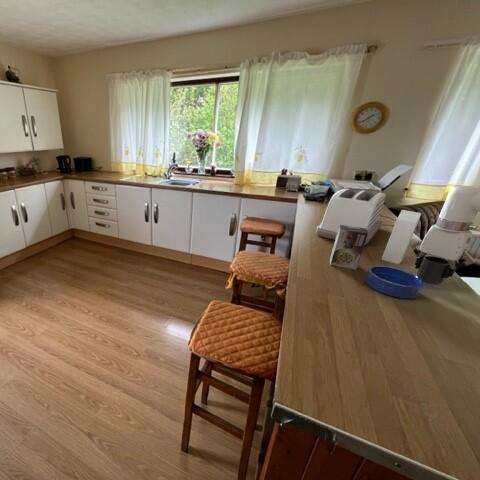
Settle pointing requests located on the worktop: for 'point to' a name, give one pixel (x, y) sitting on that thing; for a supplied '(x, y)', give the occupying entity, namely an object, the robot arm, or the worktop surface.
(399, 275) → the bowl
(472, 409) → the worktop surface
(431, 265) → the cup
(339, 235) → the coffee box
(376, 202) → the toaster
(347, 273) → the worktop surface
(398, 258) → the milk
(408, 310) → the worktop surface
